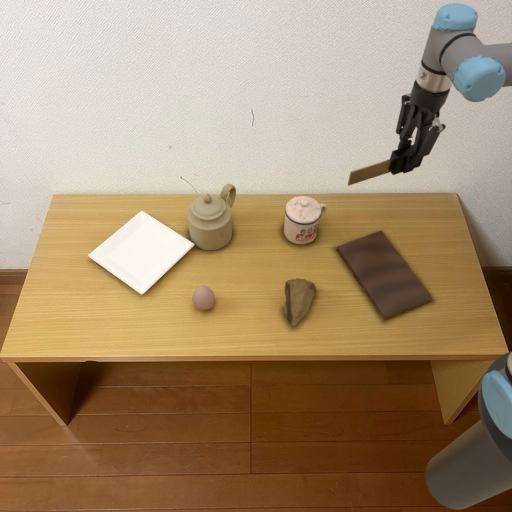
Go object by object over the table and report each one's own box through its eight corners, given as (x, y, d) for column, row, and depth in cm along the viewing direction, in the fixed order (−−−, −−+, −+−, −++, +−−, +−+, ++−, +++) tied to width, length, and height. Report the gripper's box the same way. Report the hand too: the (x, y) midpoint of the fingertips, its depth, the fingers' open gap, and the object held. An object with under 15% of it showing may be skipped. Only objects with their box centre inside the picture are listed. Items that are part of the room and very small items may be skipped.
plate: (195, 248, 121) (195, 243, 120) (143, 299, 112) (141, 294, 111) (142, 214, 128) (141, 209, 126) (89, 259, 119) (87, 255, 117)
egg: (189, 311, 111) (186, 295, 105) (198, 293, 113) (196, 277, 108) (210, 317, 110) (208, 302, 104) (218, 299, 112) (217, 284, 107)
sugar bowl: (197, 205, 130) (192, 164, 118) (237, 209, 129) (236, 168, 117) (185, 248, 121) (178, 208, 109) (228, 253, 121) (226, 213, 108)
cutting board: (430, 300, 113) (432, 297, 112) (384, 319, 110) (385, 316, 109) (380, 233, 125) (381, 230, 124) (336, 249, 122) (337, 246, 120)
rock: (309, 270, 115) (272, 281, 111) (327, 269, 107) (288, 281, 103) (320, 313, 115) (283, 326, 112) (338, 316, 107) (300, 329, 104)
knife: (350, 189, 115) (354, 172, 110) (344, 181, 116) (348, 164, 112) (419, 166, 120) (426, 149, 115) (413, 159, 121) (419, 142, 117)
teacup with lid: (295, 251, 121) (299, 221, 112) (276, 227, 126) (278, 197, 116) (333, 232, 125) (340, 201, 116) (313, 209, 130) (318, 178, 120)
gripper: (396, 67, 104) (373, 150, 123) (441, 109, 95) (409, 192, 114) (425, 59, 105) (398, 143, 124) (471, 100, 97) (435, 183, 116)
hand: (403, 166), depth 119 cm, fingers closed on knife, 3 cm apart
